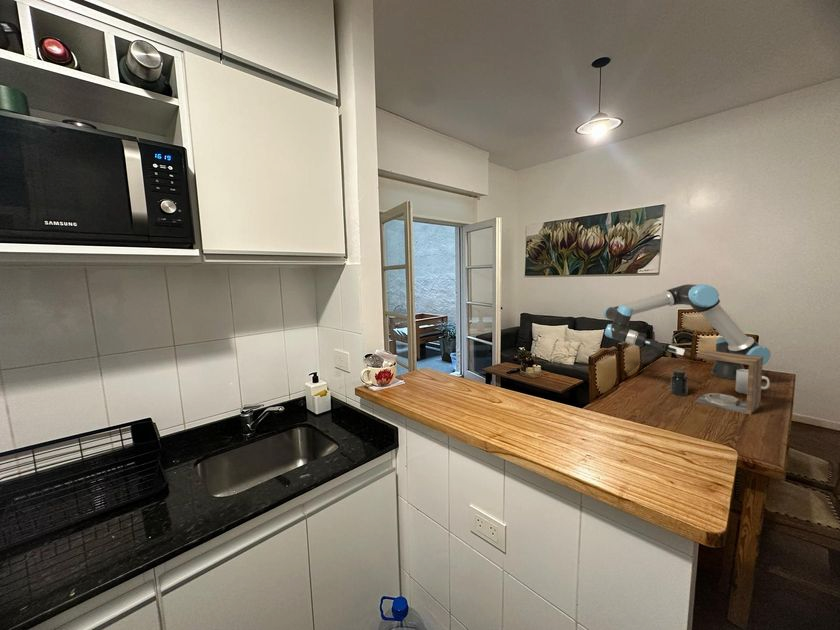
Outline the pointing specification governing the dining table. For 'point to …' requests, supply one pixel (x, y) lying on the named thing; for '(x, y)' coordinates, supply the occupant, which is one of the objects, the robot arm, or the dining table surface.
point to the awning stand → (753, 383)
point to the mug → (746, 381)
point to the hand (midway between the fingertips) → (683, 352)
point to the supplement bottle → (679, 383)
